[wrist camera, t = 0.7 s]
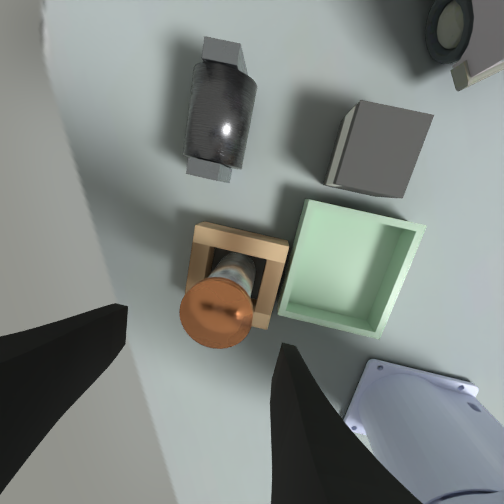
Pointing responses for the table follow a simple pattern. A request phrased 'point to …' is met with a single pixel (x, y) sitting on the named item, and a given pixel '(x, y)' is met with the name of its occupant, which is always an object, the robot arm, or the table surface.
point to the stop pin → (221, 304)
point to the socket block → (244, 243)
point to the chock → (377, 149)
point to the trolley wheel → (219, 111)
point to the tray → (347, 268)
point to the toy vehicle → (467, 38)
